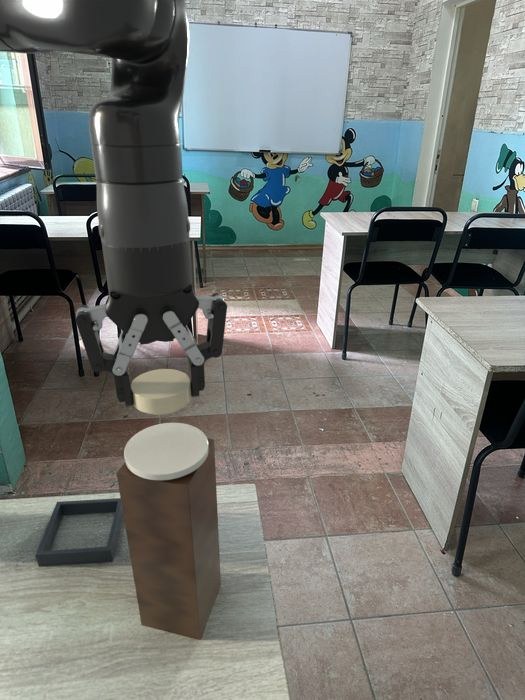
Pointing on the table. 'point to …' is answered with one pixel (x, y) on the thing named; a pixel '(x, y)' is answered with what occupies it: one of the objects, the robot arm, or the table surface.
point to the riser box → (173, 546)
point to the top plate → (161, 391)
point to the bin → (83, 554)
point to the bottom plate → (166, 451)
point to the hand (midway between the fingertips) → (162, 397)
